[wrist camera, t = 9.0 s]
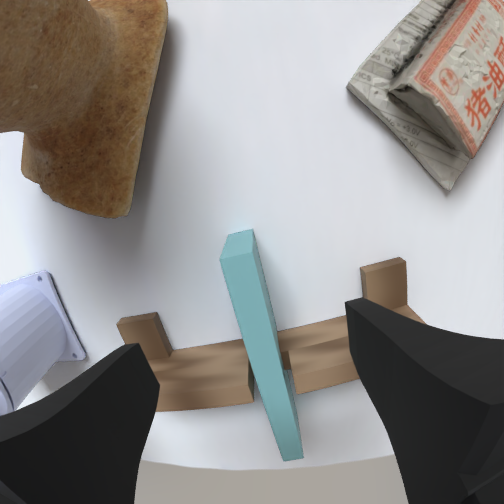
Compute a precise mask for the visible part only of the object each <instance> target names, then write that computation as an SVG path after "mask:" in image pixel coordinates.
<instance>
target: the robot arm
mask: <svg viewBox="0 0 504 504" xmlns="http://www.w3.org/2000/svg"><path fill="white" fill-rule="evenodd" d="M40 277H41V278H42V280H41V278H40ZM345 309H346V318H347V328H348V338H349V350H350V354H351V357H352V360H353V362H354V365H355V368H356V370H357V373H358V375H359V377H360V379H361V381H362V383H363V385H364V387H365V389H366V391H367V393H368V395H369V397H370V399H371V400H372V402H373V404H374V406H375V408H376V410H377V412H378V414H379V416H380V418H381V420H382V422H383V424H384V426H385V428H386V431H387V433H388V436H389V439H390V442H391V444H392V447H393V450H394V453H395V456H396V459H397V463H398V465H399V469H400V473H401V476H402V479H403V483H404V487H405V491H406V495H407V499H408V503H409V504H504V340H503V339H490V338H482V337H475V336H469V335H463V334H459V333H454V332H451V331H447V330H443V329H439V328H436V327H432V326H429V325H427V324H424V323H421V322H418V321H416V320H413V319H410V318H408V317H406V316H403V315H401V314H399V313H396V312H394V311H392V310H390V309H387V308H385V307H383V306H381V305H379V304H377V303H375V302H372V301H370V300H368V299H365V298H363V297H362V298H358V299H354V300H350V301H347V302H345ZM75 354H76V355H75ZM85 357H86V355H85V352H84V350H83V349H82V347H81V345H80V343H79V341H78V339H77V337H76V335H75V333H74V331H73V328H72V326H71V324H70V322H69V320H68V318H67V316H66V313H65V311H64V309H63V306H62V304H61V302H60V299H59V297H58V295H57V292H56V290H55V287H54V285H53V282H52V279H51V277H50V274H49V273H48V272H47V271H41V272H38V273H34V274H31V275H28V276H25V277H22V278H19V279H16V280H13V281H10V282H7V283H4V284H1V285H0V504H134V498H135V489H136V481H137V475H138V468H139V463H140V459H141V456H142V452H143V449H144V446H145V443H146V440H147V437H148V434H149V431H150V428H151V425H152V421H153V418H154V415H155V412H156V409H157V403H158V398H159V391H160V384H159V382H158V380H157V378H156V376H155V374H154V373H153V371H152V369H151V367H150V365H149V363H148V361H147V358H146V356H145V354H144V352H143V350H142V348H141V346H140V344H139V343H132V344H125V345H123V346H121V347H119V348H118V349H116V350H114V351H113V352H111V353H110V354H109V355H107V356H106V357H104V358H103V359H102V360H100V361H99V362H97V363H96V364H95V365H93V366H92V367H91V368H89V369H88V370H86V371H85V372H84V373H82V374H81V375H79V376H78V377H77V378H75V379H74V380H72V381H71V382H69V383H68V384H66V385H65V386H63V387H62V388H60V389H59V390H57V391H55V392H54V393H52V394H50V395H48V396H46V397H45V398H43V399H41V400H39V401H37V402H35V403H33V404H30V405H28V406H26V407H23V408H21V409H19V410H16V409H17V408H18V407H19V405H20V404H21V403H22V402H23V400H24V399H25V398H26V397H27V395H28V394H29V393H30V392H31V390H32V389H33V388H34V387H35V386H36V384H37V383H38V382H39V381H40V380H41V378H42V377H43V376H44V375H45V374H46V372H47V371H48V370H49V369H50V368H51V367H52V365H53V364H54V363H55V362H58V361H78V360H83V359H84V358H85ZM15 410H16V411H15Z"/></svg>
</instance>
